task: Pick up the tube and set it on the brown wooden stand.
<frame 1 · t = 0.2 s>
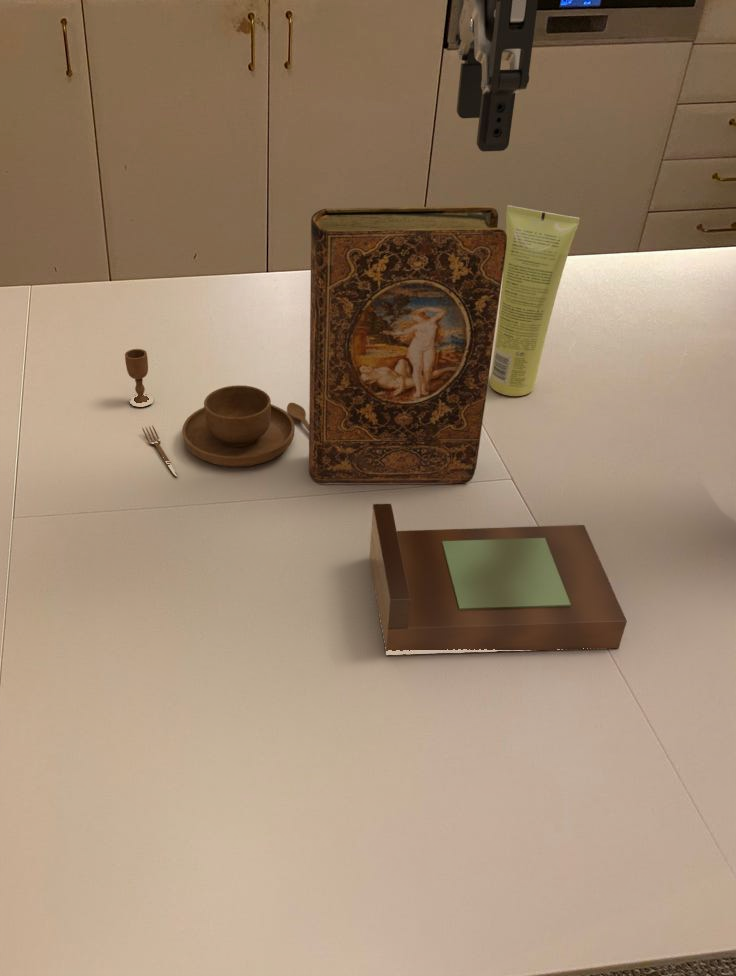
hand: (480, 132, 75), 33 cm above the table, tool pointing down, fingers open, 8 cm apart
place setting: (223, 426, 108), on the table
tube: (513, 389, 112), on the table
book: (389, 471, 101), on the table
brown wooden stand: (487, 600, 85), on the table
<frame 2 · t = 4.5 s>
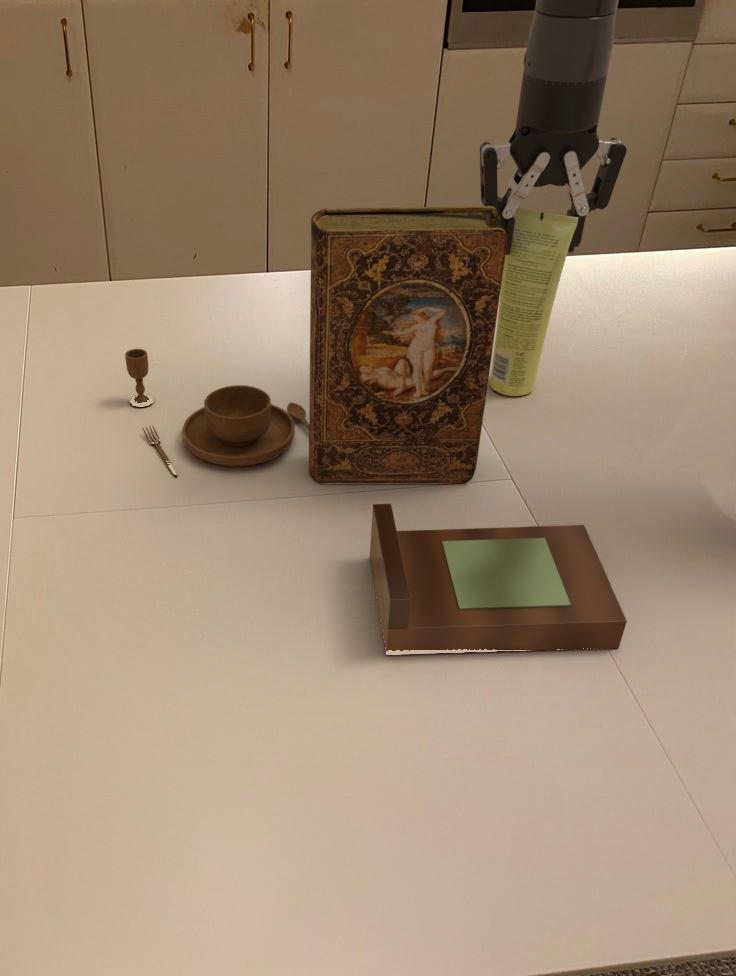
hand: (536, 250, 102), 16 cm above the table, tool pointing down, fingers closed on tube, 6 cm apart
tube: (513, 389, 112), on the table, touching gripper
everything else where it was.
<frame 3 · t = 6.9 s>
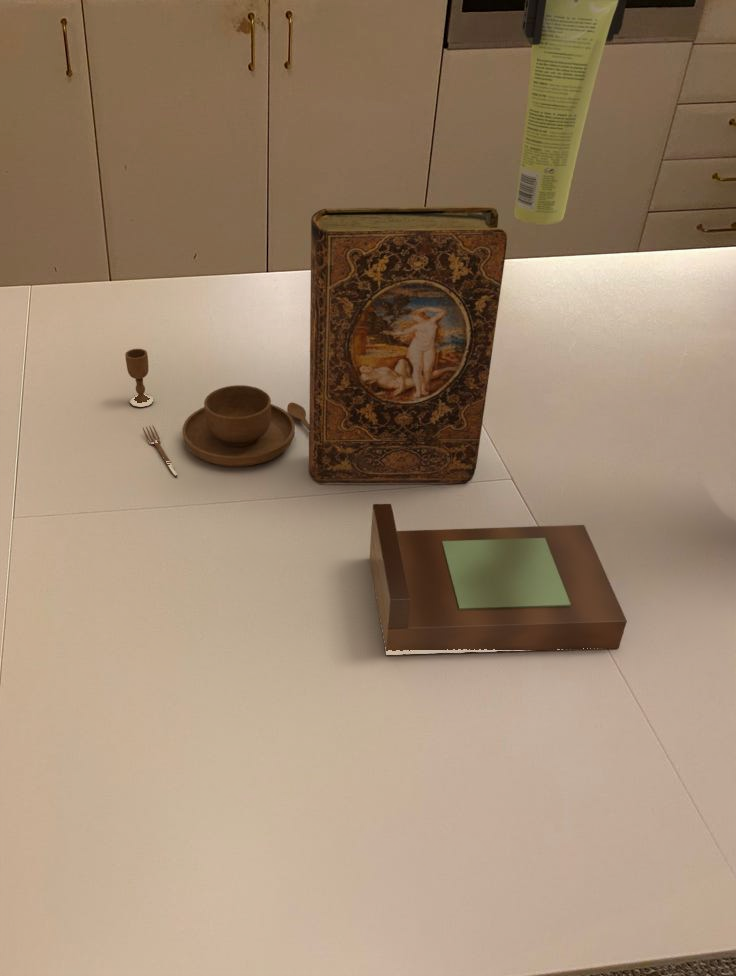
hand: (569, 41, 89), 34 cm above the table, tool pointing down, fingers closed on tube, 6 cm apart
tube: (540, 220, 100), point 19 cm above the table, touching gripper
everything else where it was.
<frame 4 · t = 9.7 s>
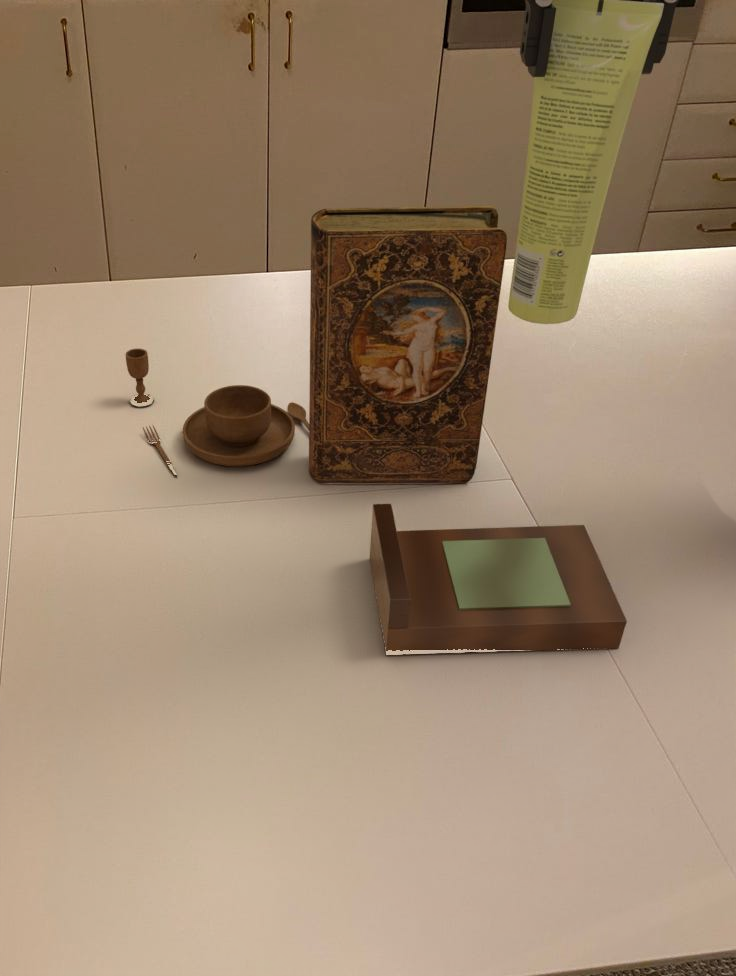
hand: (588, 71, 61), 40 cm above the table, tool pointing down, fingers closed on tube, 6 cm apart
tube: (544, 315, 72), point 24 cm above the table, touching gripper
everything else where it was.
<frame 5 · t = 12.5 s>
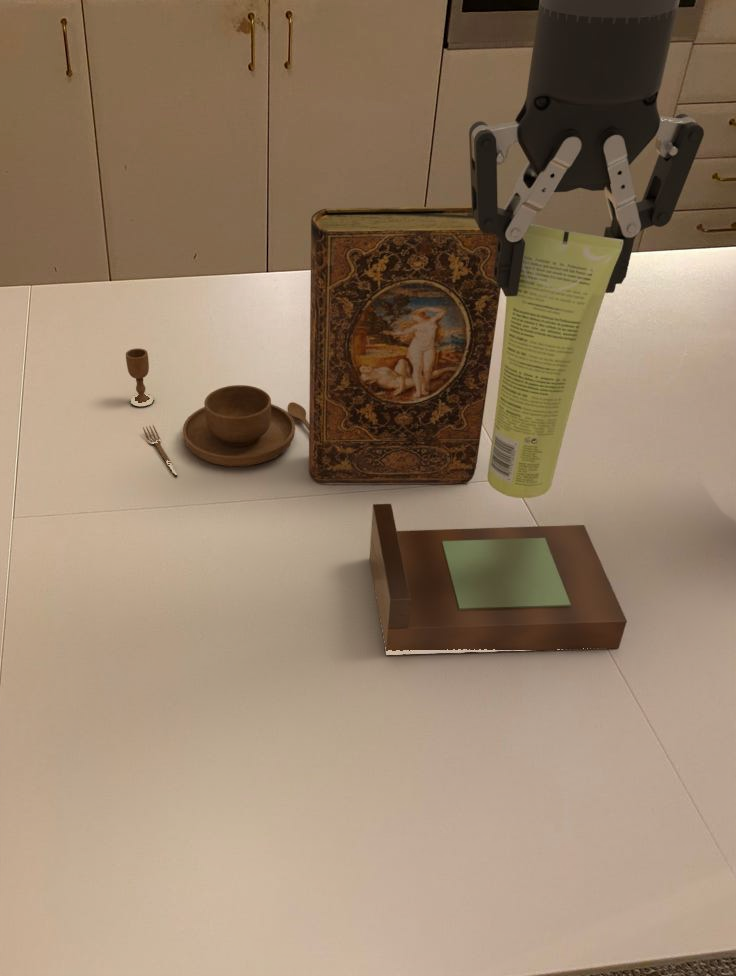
hand: (556, 289, 66), 28 cm above the table, tool pointing down, fingers closed on tube, 6 cm apart
tube: (521, 485, 77), point 12 cm above the table, touching gripper
everything else where it was.
when the fingers open (19 cm above the table, at t = 15.0 s): tube stays where it is, resting on brown wooden stand.
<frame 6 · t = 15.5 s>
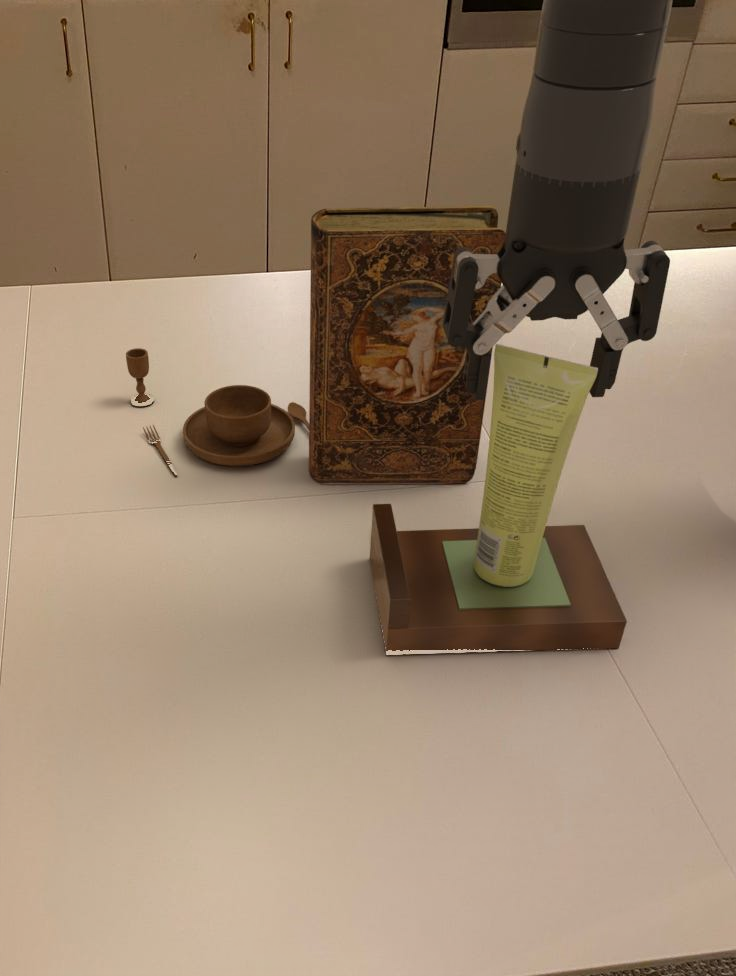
hand: (536, 394, 72), 20 cm above the table, tool pointing down, fingers open, 8 cm apart
tube: (505, 573, 83), point 3 cm above the table, touching brown wooden stand
everything else where it was.
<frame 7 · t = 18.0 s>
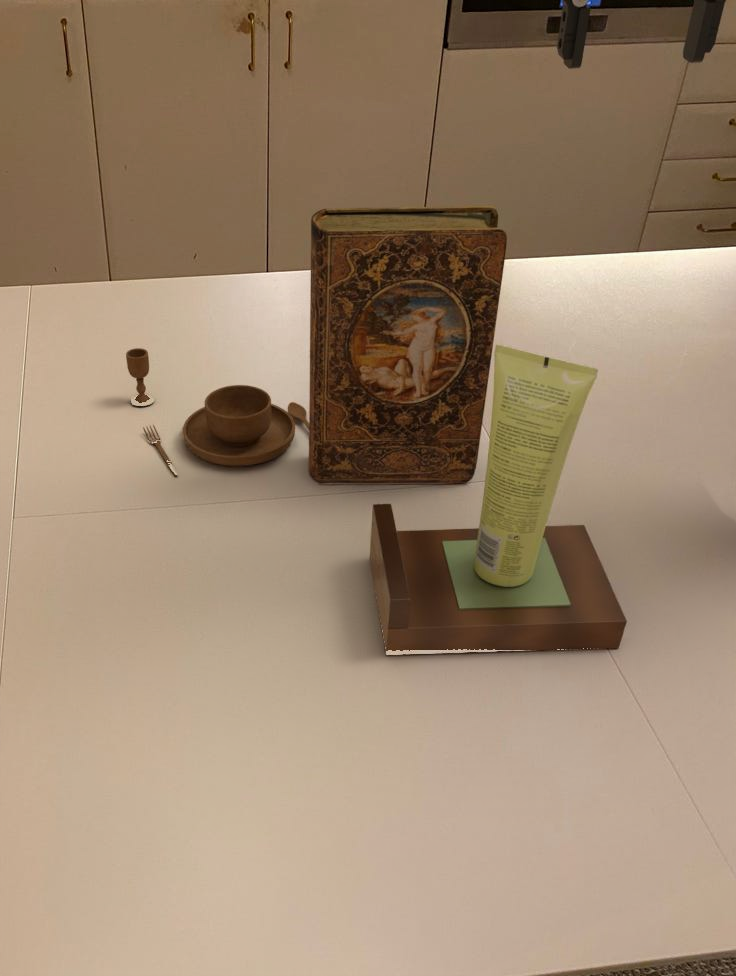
hand: (632, 63, 70), 38 cm above the table, tool pointing down, fingers open, 8 cm apart
nothing on the table moved.
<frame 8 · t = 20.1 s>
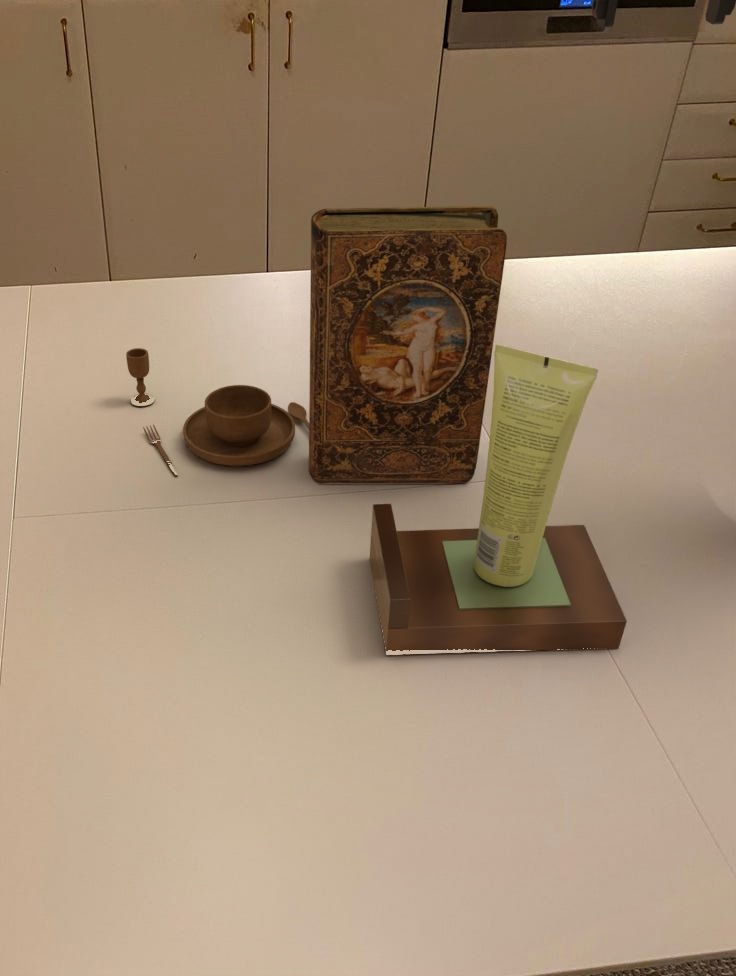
hand: (659, 24, 77), 38 cm above the table, tool pointing down, fingers open, 8 cm apart
nothing on the table moved.
at the end: tube inside the target area on the brown wooden stand (0.1 cm from its centre), point 3.0 cm above the brown wooden stand's base; tube tilted 0°; the gripper is holding nothing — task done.
